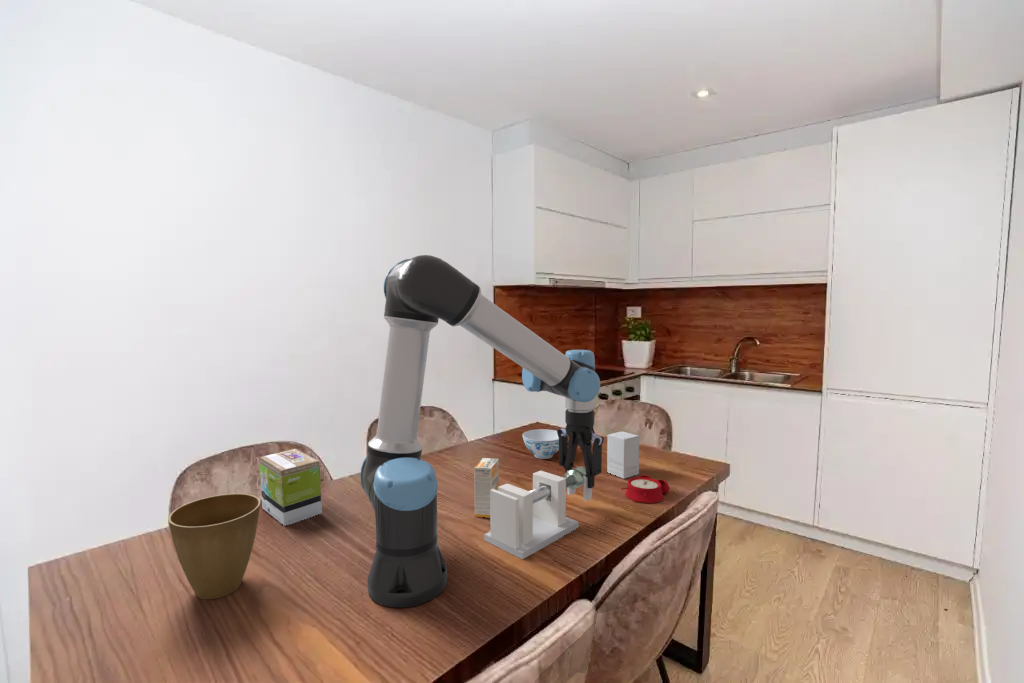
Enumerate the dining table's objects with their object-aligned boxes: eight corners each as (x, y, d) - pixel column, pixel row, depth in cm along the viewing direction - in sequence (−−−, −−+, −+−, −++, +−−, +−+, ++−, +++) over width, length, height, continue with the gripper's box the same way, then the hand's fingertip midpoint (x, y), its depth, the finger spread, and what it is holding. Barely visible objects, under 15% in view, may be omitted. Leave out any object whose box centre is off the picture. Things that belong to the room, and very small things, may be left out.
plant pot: (163, 622, 83) (158, 532, 81) (183, 577, 96) (178, 500, 95) (260, 600, 89) (256, 517, 87) (266, 561, 102) (263, 488, 101)
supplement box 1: (492, 518, 122) (491, 468, 121) (474, 517, 123) (473, 467, 122) (499, 505, 130) (499, 458, 129) (482, 504, 131) (482, 457, 130)
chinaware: (566, 462, 164) (566, 440, 163) (522, 462, 164) (522, 440, 163) (562, 449, 179) (562, 429, 178) (522, 449, 179) (522, 429, 178)
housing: (541, 512, 125) (541, 466, 124) (578, 527, 117) (578, 477, 116) (484, 540, 111) (484, 487, 110) (522, 559, 102) (522, 502, 101)
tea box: (260, 509, 128) (258, 455, 126) (298, 498, 135) (296, 447, 134) (283, 527, 117) (281, 469, 116) (323, 514, 125) (321, 459, 124)
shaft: (575, 481, 129) (575, 464, 129) (590, 485, 126) (590, 468, 125) (516, 507, 112) (516, 488, 112) (531, 513, 109) (531, 493, 109)
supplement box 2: (639, 474, 152) (640, 435, 151) (623, 479, 148) (624, 439, 147) (622, 468, 159) (622, 430, 158) (606, 472, 154) (606, 434, 153)
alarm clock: (616, 485, 134) (642, 461, 144) (618, 504, 136) (644, 479, 146) (649, 495, 127) (675, 469, 137) (651, 516, 128) (677, 489, 138)
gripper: (617, 412, 121) (616, 501, 123) (562, 402, 133) (561, 483, 135) (600, 417, 116) (599, 510, 118) (544, 406, 128) (544, 491, 130)
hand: (579, 495), depth 126 cm, fingers closed on shaft, 5 cm apart
